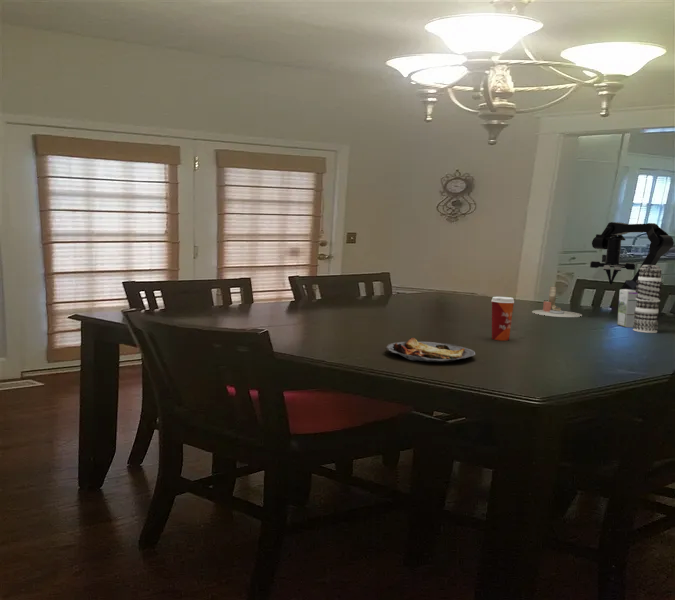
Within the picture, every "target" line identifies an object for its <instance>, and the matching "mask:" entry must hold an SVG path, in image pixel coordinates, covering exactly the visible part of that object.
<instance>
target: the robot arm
mask: <svg viewBox="0 0 675 600" xmlns="http://www.w3.org/2000/svg"><path fill="white" fill-rule="evenodd" d="M630 233H646V236H647V239H648V241H650V244H649V247H648V249H649V252H648V254H647V255H646V256H645V258H644V260H643V262H642V263H641V264H640V267H639V268H641V267H642V265H657V263H658V261H659V260H660V259H661V257H662V256H664V255H665V254H667V253H668V252H669V251H670V250H671V249H672V248H673V246H674V244H675V242H674V238H673V237H672V236H671V235H669V233H667V232H666V231H665V230H664V229H662V228H661V227H660V226H659V224H657V223H652V222H647V223H626V222H625V223H624V222H619V221H617V222H616V221H615V222H614V221H612V222H611V221H609V222H608V223H607V224H606V227H605V228H604V229H603V231H602V232H601V234H600V233H599V234H595V236H594V238H593V239H592V241H591V246H592V248H593V249H596V250H606V254H602V255H601V262H600V261H597V260H591V261H590V263H589V268H592V269H594V268H595V269H597V268H599V267H600V268H602V270H603V271H605V273H606V275H607V277H608V278H607V279H608V284H609V285H612V284H613V283H614V280H615V278H616V276H617V274H618V273H619V272H621V271H622V269H626V270H629V271H631V270H633V271H635V270H636V264H635V263H633V262H632V263H631V262H625V263H620V259H621V246H622V241H626V238H625V237H624V236H623V235H626V234H630ZM611 268H613V269H611ZM639 268H638V269H637V272H636V273H635V274H634V277H633V278H632V279H626V280H625V281H624V283H623V284H622V286H621V288H620V289H631V290H637V288H636V286H637V285H638V283H636V281H637V280H638V277H639V271H640V269H639ZM611 270H612V272H611ZM611 273H612V274H611Z"/></svg>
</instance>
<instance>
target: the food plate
mask: <svg viewBox="0 0 675 600" xmlns="http://www.w3.org/2000/svg"><path fill="white" fill-rule="evenodd" d="M385 350H387V351H388V352H390V353H391V354H397V355H400V356H402V358H403V357H404V358H405V359H407V360H410V361H419V362H428V363H429V362H431V363H432V362H434V363H447V362H448V363H449V362H455V361H457V360H462V359H466V358H467V359H468V358H471V357H473V356H476V352H475V350H473V349H470V348H467V347H465V346H464V347H463V346H461V345H459V344H455V343H446V342H445V343H444V342H435V341H433V342H432V341H422V340H421V341H418V340H417V339H416V338H415V337H410V338H409V339H408V340H407V341H399V342H398V341H396V342H392V343H388V344H387V345H386V346H385Z"/></svg>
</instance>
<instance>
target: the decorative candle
mask: <svg viewBox="0 0 675 600" xmlns="http://www.w3.org/2000/svg"><path fill="white" fill-rule="evenodd" d="M641 265H642V264H641ZM639 269H640V271H639V277H638V280H637V281H636V283H638V285H637V286H636V288H637V290H636V292H637V293H638V294H637V295H636V300H637V304H636V309H635V311H636V312H634V314H636V315H635V316H634V318H635V320H634V321H633V322H634V323H635V324H634V325H633V327H632V328H633V329H632V331H635V332H638V333H645V334H646V333H648V334H654V333H655V334H656V333H658V328H659V326H658V325H659V322H658V321H659V317H658V316H660V314H659V303H660V302H661V298H662V296H661V294H662V291H661V290H662V289H663V287H662V286H663V284H664V283H663V282H662V271H663V269H662V268H661V267H660V265H658V264H656V265H642V267H641V268H640V267H639V268H638V270H639Z"/></svg>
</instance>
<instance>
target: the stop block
mask: <svg viewBox="0 0 675 600" xmlns="http://www.w3.org/2000/svg"><path fill="white" fill-rule="evenodd" d="M542 310H543V311H550V310H552V309H551V302H549V301H546V300H545V301H544V300H543V307H542Z"/></svg>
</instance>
